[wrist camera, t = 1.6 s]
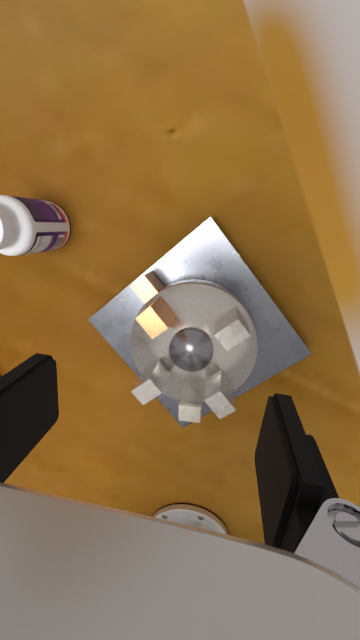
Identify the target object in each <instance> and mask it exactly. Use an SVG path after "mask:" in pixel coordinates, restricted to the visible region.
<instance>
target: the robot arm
mask: <svg viewBox="0 0 360 640" xmlns="http://www.w3.org/2000/svg"><path fill="white" fill-rule="evenodd" d="M58 415H59V409H58V389H57V370H56V361H55V360H53V358H52V356H50V355H44V354H35V355H33V356H32V357H30V358H29V359H27V360H26V361H24V362H23V363H21V364H20V365H18V366H17V367H15V368H14V369H12V370H11V371H9V372H8V373H7V374H5V375H4V376H2V377H1V378H0V640H360V507H359V506H357V505H356V504H354V503H352V502H350V501H347V500H344V499H341V498H339V497H338V494H337V492H336V489H335V487H334V485H333V482H332V480H331V477H330V475H329V473H328V470H327V468H326V465H325V463H324V461H323V458H322V456H321V453H320V451H319V449H318V446H317V444H316V441H315V439H314V438H313V436H311V435H306V434H305V431H304V429H303V426H302V423H301V421H300V418H299V416H298V413H297V410H296V408H295V405H294V403H293V400H292V397H291V396H288V395H282V394H276V393H275V394H274V396H273V397H271V396H269V397H268V401H267V405H266V409H265V413H264V417H263V422H262V426H261V430H260V434H259V439H258V443H257V447H256V451H255V466H256V474H257V482H258V491H259V499H260V507H261V515H262V523H263V531H264V539H265V544H262V543H259V542H255V541H251V540H247V539H243V538H239V537H235V536H231V535H228V532H227V529H226V528H225V526H224V524H223V523H222V522H221V521H220V520H219V519H218V518H217V517H216V516H215V515H213V514H212V513H210V512H208V511H207V510H205V509H202V508H200V507H197V506H193V505H186V504H175V505H170V506H166V507H164V508H162V509H160V510H159V511H157V512H156V513H155V514H154V515H153V516H152V517H151V516H147V515H142V514H138V513H134V512H130V511H125V510H121V509H116V508H112V507H108V506H103V505H99V504H94V503H90V502H86V501H81V500H77V499H72V498H68V497H63V496H59V495H54V494H50V493H46V492H41V491H37V490H32V489H27V488H23V487H18V486H14V485H9V484H5V483H4V482H5V480H6V479H7V478H8V477H9V476H10V475H11V474H12V472H13V471H14V470H15V469H16V468H17V467H18V465H19V464H20V463H21V462H22V461H23V460H24V458H25V457H26V456H27V455H28V454H29V453H30V452H31V450H32V449H33V448H34V447H35V446H36V445H37V443H38V442H39V441H40V440H41V439H42V438H43V436H44V435H45V434H46V433H47V432H48V431H49V430H50V428H51V427H52V426H53V425H54V424H55V422H56V421H57V419H58Z"/></svg>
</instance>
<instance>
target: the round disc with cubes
mask: <svg viewBox="0 0 360 640" xmlns="http://www.w3.org/2000/svg"><path fill="white" fill-rule="evenodd" d="M131 288H132V289H133V290H134V291H135V292H136V294H137V295H138V296H139V297H140V299H141V300H142V301H143V302H144V303H145V304H144V305H143V307H142V308H141V309H140V310H139V312H138V314H137V315H136V317H135V320H134V322H133V325H132V329H131V336H130V346H131V352H132V356H133V359H134V362H135V364H136V366H137V368H138V370H139V372H140V373H141V375H140V377H139V378H138V380H137V382H136V384H135V385H134V387H133V389H132V391H131V392H132V393H133V394H134V396H135V397H136V398H137V399H138V400H139V401H140V402H141V403H142V405H144V404H146V403H147V402H149V401H151V400H152V399H154V398H155V397H157V396H158V395H160V394H161V393H163V394H165V395H167V396H169V397H171V398H174V399H177V400H180V401H185V402H192V403H201V402H206V404H207V405H208V406H209V407H210V408H211V409H212V411H213V412H214V413H215V414H216V415H217V417H218V418H219V419H221V418H223V417H225V416H227V415H229V414H230V413H232V412H234V411H236V403H235V390H236V389H237V388H239V387H240V386H241V385H242V384H243V383H244V382H245V380H246V379H247V378H248V376H249V375H250V373H251V371H252V369H253V367H254V364H255V361H256V357H257V337H256V332H255V328H254V325H253V322H252V318H251V316H250V314H249V311H248V309H247V308H246V306H245V305H244V303H243V302H242V301H241V300H240V299H239V298H238V297H237V296H236V295H235V294H234V293H233V292H232V291H230V290H229V289H227V288H226V287H224V286H222V285H219V284H217V283H214V282H211V281H207V280H201V279H187V280H181V281H177V282H174V283H171V284H169V285H167V286H165V287H164V286H163V284H162V283H161V282H160V281H159V279H158V278H157V277H156V276H155V274H154V273H153V272H152V271H151V272H149V273H147V274H146V275H144V276H143V277H142V278H140V279H139V280H138V281H137V282H136V283H134V284H133V285H132V286H131Z"/></svg>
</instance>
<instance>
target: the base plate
mask: <svg viewBox="0 0 360 640" xmlns="http://www.w3.org/2000/svg"><path fill="white" fill-rule="evenodd" d="M151 271H152V272H153V273H154V274H155V276H156V277H157V278H158V279H159V281H160V282H161V283H162V284H163V286H164V287H165V286H167V285H169V284H171V283H174V282H177V281H181V280H187V279H201V280H207V281H211V282H214V283H217V284H219V285H222V286H224V287H226V288H227V289H229V290H230V291H232V292H233V293H234V294H235V295H236V296H237V297H238V298H239V299H240V300H241V301H242V302H243V303H244V305H245V306H246V308H247V309H248V311H249V314H250V316H251V318H252V322H253V325H254V328H255V332H256V337H257V357H256V361H255V364H254V367H253V369H252V371H251V373H250V375H249V376H248V378H247V379H246V380H245V382H244V383H243V384H242V385H241V386H240V387H239V388H237V389H236V390H235V398H236V397H238V396H239V395H241V394H243V393H245V392H246V391H248V390H250V389H251V388H253V387H255V386H257V385H258V384H260V383H262V382H264V381H265V380H267V379H269V378H271V377H272V376H274V375H276V374H277V373H279V372H281V371H283V370H284V369H286V368H288V367H290V366H291V365H293V364H295V363H297V362H298V361H300V360H302V359H303V358H305V357H307V356H309V355H310V354H312V353H311V352H310V351H309V349H308V348H307V346H306V345H305V343H304V342H303V341H302V339H301V338H300V337H299V335H298V334H297V333H296V331H295V330H294V328H293V327H292V326H291V324H290V323H289V322H288V320H287V319H286V318H285V316H284V315H283V314H282V312H281V311H280V310H279V308H278V307H277V305H276V304H275V303H274V301H273V300H272V299H271V297H270V296H269V295H268V293H267V292H266V291H265V289H264V288H263V286H262V285H261V284H260V282H259V281H258V280H257V278H256V277H255V276H254V274H253V273H252V272H251V270H250V269H249V267H248V266H247V265H246V263H245V262H244V261H243V259H242V258H241V257H240V255H239V254H238V253H237V251H236V250H235V248H234V247H233V246H232V244H231V243H230V242H229V240H228V239H227V238H226V236H225V235H224V234H223V232H222V231H221V229H220V228H219V227H218V225H217V224H216V223H215V221H214V220H213V219H212V217H209V218H208V219H207V220H206V221H205V222H203V223H202V224H201V225H200V226H199V227H197V228H196V229H195V230H194V231H193V232H191V233H190V234H189V235H188V236H187V237H186V238H184V239H183V240H182V241H181V242H180V243H178V244H177V245H176V246H175V247H174V248H173V249H171V250H170V251H169V252H168V253H167V254H165V255H164V256H163V257H162V258H161V259H159V260H158V261H157V262H156V263H155V264H154V265H152V266H151V267H150V268H149V269H148V270H146V271H145V272H144V273H143V274H142V275H140V276H139V277H138V278H137V279H136V280H135V281H133V282H132V283H131V284H130V285H129V286H127V287H126V288H125V289H124V290H123V291H122V292H120V293H119V294H118V295H117V296H116V297H114V298H113V299H112V300H111V301H110V302H108V303H107V304H106V305H105V306H104V307H103V308H101V309H100V310H99V311H98V312H97V313H95V314H94V315H93V316H92V317H91V318H89V319H88V320H89V321H90V322H91V323H92V324H93V326H94V327H95V328H96V329H97V330H98V331H99V332H100V334H101V335H102V336H103V337H104V338H105V339H106V340H107V342H108V343H109V344H110V345H111V346H112V347H113V348H114V350H115V351H116V352H117V353H118V354H119V355H120V356H121V358H122V359H123V360H124V361H125V362H126V363H127V364H128V366H129V367H130V368H131V369H132V370H133V371H134V372H135V374H136V375H137V376H138V377H140V375H141V373H140V372H139V370H138V368H137V366H136V364H135V362H134V359H133V356H132V352H131V346H130V336H131V329H132V325H133V322H134V320H135V317H136V315H137V314H138V312H139V310H140V309H141V308H142V307H143V305H144V304H145V303H144V302H143V301H142V300H141V299H140V297H139V296H138V295H137V294H136V292H135V291H134V290H133V289H132V288H131V286H132V285H133V284H134V283H136V282H137V281H138V280H139V279H140V278H142V277H143V276H144V275H146V274H147V273H149V272H151ZM156 398H157V399H158V400H159V401H160V402H161V403H162V404H163V406H164V407H165V408H166V409H167V410H168V411H169V412H170V414H171V415H172V416H173V417H174V418H175V419H176V420H177V422H178V423H179V424H180V425H181V426H182V427H183V428H184V427H186V426H187V425H189V424H191V423H193V422H196V423H200V419H201V417H203V416H205V415H206V414H208V413H210V412H212V409H211V408H210V407H209V406H208V405H207V404H206V402H201V403H192V402H185V401H180V400H177V399H174V398H171V397H169V396H167V395H165V394H163V393H161V394H160V395H158V396H157V397H156Z"/></svg>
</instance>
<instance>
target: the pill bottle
mask: <svg viewBox="0 0 360 640" xmlns="http://www.w3.org/2000/svg"><path fill="white" fill-rule="evenodd" d="M69 234H70V225H69V221H68V218H67V216H66V214H65V213H64V211H63V210H62V209H61V208H60V207H59V206H58V205H56V204H54V203H52V202H49V201H44V200H37V199H29V198H22V197H14V196H7V195H0V253H1V254H4V255H8V256H17V255H24V254H31V253H38V252H45V251H52V250H56V249H59V248H61V247H62V246H63V245H64V244H65V243H66V242H67V240H68V238H69Z"/></svg>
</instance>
